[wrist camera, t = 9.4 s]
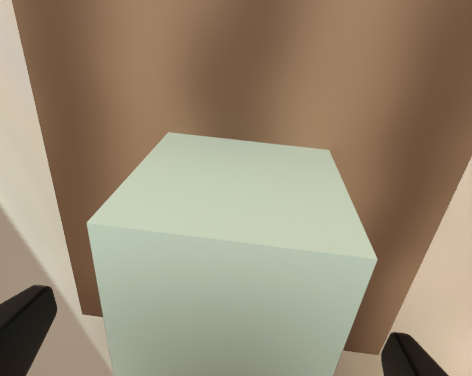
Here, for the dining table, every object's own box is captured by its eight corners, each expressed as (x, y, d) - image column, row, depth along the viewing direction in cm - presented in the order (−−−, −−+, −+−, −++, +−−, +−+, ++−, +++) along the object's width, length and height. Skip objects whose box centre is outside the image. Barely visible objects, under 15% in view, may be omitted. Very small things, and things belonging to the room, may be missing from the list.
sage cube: (329, 149, 12) (377, 259, 6) (300, 272, 14) (316, 417, 9) (168, 132, 12) (86, 222, 7) (171, 255, 15) (115, 387, 9)
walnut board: (481, 6, 12) (543, 2, 9) (363, 309, 19) (378, 355, 17) (59, -30, 12) (2, -43, 10) (107, 275, 20) (82, 314, 17)
